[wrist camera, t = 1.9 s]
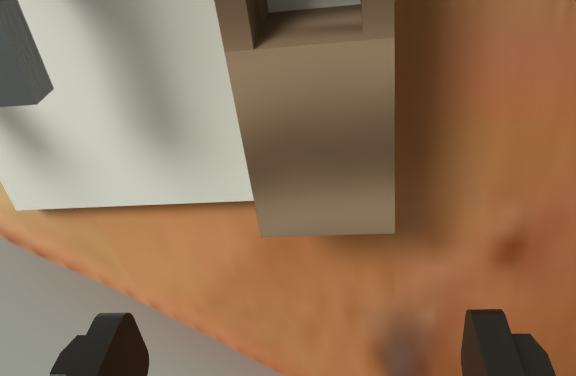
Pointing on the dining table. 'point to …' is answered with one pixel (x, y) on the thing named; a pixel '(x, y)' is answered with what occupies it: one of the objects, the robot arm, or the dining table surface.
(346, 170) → the brown rectangular block
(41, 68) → the block
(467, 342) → the robot arm
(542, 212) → the dining table surface
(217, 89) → the board
